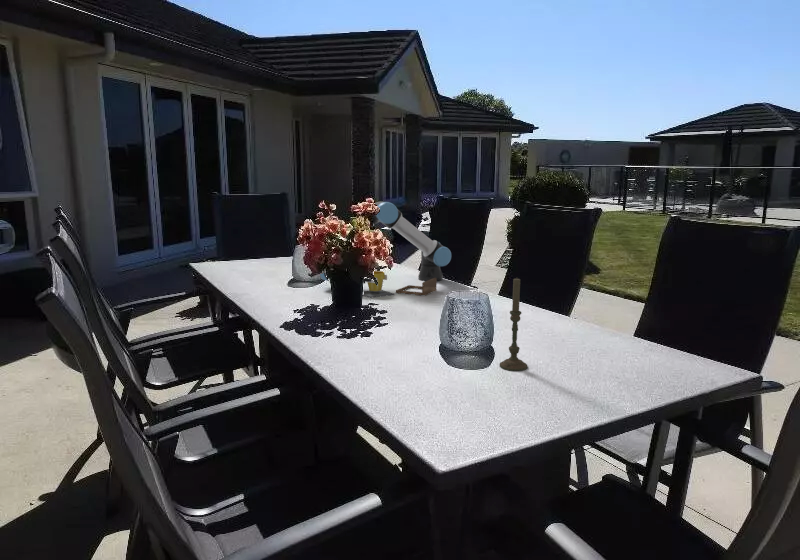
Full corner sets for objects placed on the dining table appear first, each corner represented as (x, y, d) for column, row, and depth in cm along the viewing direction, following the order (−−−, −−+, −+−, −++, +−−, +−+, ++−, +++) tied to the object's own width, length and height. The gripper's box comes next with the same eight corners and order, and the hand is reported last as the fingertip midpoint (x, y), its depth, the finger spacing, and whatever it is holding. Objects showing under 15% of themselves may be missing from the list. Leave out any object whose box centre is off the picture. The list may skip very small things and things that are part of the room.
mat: (379, 290, 310) (379, 289, 310) (394, 294, 298) (394, 293, 298) (356, 293, 302) (356, 292, 302) (370, 297, 290) (370, 296, 290)
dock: (395, 292, 302) (395, 280, 301) (408, 287, 317) (408, 275, 316) (424, 295, 295) (424, 282, 294) (436, 290, 310) (436, 277, 308)
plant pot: (362, 291, 296) (362, 273, 294) (369, 287, 306) (369, 270, 304) (381, 292, 293) (380, 274, 291) (387, 289, 303) (387, 271, 301)
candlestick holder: (528, 363, 186) (531, 275, 181) (527, 372, 178) (531, 280, 172) (500, 361, 189) (503, 274, 183) (498, 369, 180) (501, 278, 175)
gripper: (357, 279, 317) (391, 282, 307) (335, 285, 297) (371, 289, 287) (357, 266, 316) (391, 269, 306) (335, 272, 296) (371, 275, 286)
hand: (381, 278), depth 297 cm, fingers closed on plant pot, 10 cm apart
